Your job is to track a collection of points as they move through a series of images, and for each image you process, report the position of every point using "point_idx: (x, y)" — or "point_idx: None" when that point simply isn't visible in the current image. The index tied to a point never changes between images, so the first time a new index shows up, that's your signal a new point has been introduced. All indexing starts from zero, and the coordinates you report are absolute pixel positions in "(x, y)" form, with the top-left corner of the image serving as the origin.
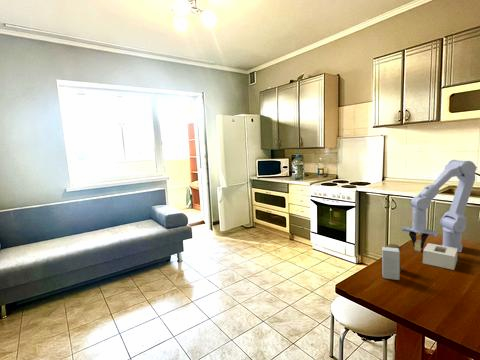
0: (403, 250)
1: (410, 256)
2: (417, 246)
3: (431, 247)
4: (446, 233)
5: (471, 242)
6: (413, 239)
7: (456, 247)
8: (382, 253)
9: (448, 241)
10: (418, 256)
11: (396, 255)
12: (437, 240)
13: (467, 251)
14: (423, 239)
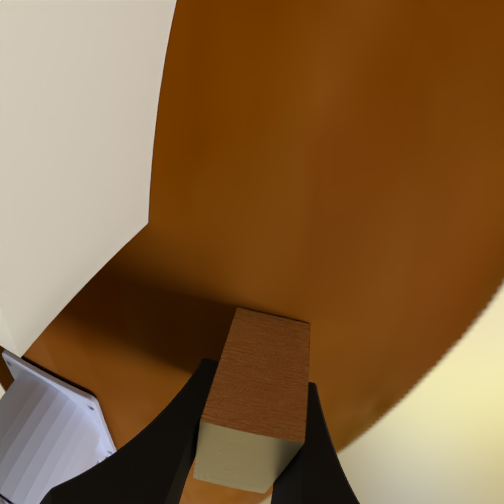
0: (451, 288)
1: (391, 59)
2: (265, 371)
3: None
4: (12, 492)
5: None
6: (320, 490)
7: (12, 385)
8: None
9: (25, 433)
10: (265, 105)
11: None
12: None
13: (3, 367)
14: (127, 480)
